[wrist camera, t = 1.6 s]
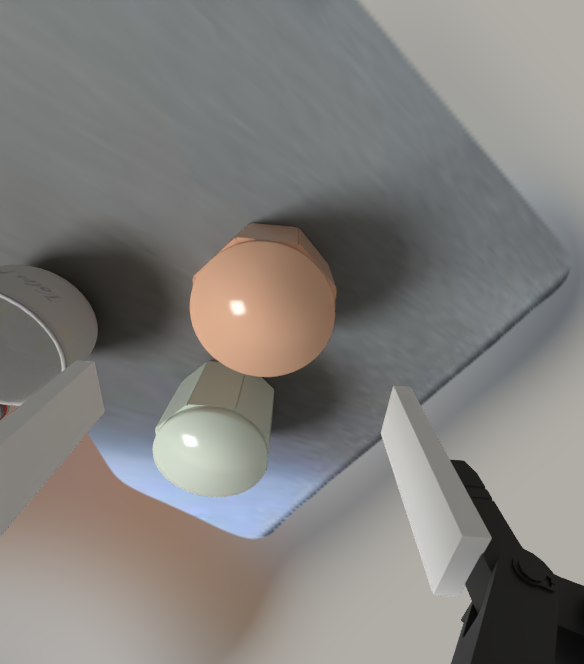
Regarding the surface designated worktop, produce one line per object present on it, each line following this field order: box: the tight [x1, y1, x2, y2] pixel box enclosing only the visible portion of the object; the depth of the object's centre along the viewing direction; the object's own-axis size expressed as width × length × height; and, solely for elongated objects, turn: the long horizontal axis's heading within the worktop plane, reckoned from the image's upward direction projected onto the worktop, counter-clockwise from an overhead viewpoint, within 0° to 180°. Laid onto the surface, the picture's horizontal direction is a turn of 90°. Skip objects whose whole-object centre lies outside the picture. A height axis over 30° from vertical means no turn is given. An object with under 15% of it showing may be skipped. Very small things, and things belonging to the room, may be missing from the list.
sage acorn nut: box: [153, 361, 274, 497], centre depth 32 cm, size 10×10×8 cm
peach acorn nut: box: [190, 223, 337, 377], centre depth 26 cm, size 10×10×8 cm
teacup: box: [0, 265, 98, 406], centre depth 28 cm, size 14×11×8 cm
